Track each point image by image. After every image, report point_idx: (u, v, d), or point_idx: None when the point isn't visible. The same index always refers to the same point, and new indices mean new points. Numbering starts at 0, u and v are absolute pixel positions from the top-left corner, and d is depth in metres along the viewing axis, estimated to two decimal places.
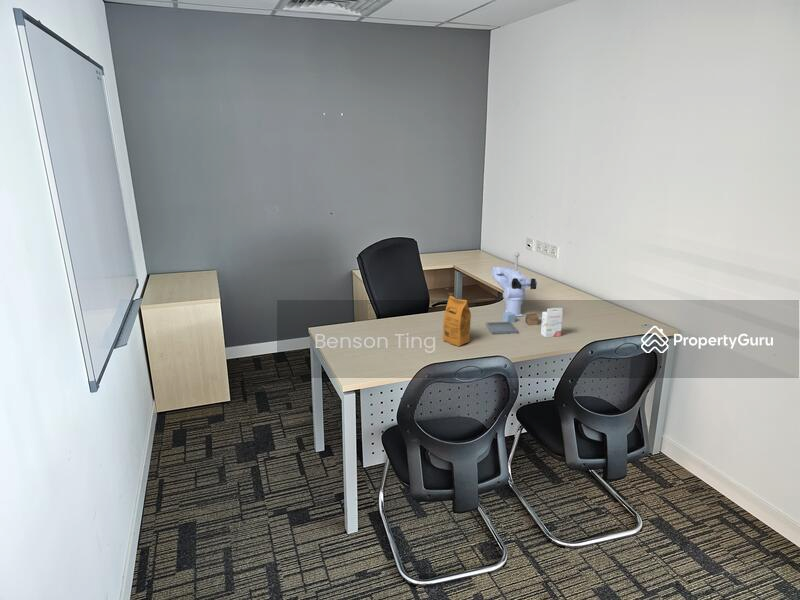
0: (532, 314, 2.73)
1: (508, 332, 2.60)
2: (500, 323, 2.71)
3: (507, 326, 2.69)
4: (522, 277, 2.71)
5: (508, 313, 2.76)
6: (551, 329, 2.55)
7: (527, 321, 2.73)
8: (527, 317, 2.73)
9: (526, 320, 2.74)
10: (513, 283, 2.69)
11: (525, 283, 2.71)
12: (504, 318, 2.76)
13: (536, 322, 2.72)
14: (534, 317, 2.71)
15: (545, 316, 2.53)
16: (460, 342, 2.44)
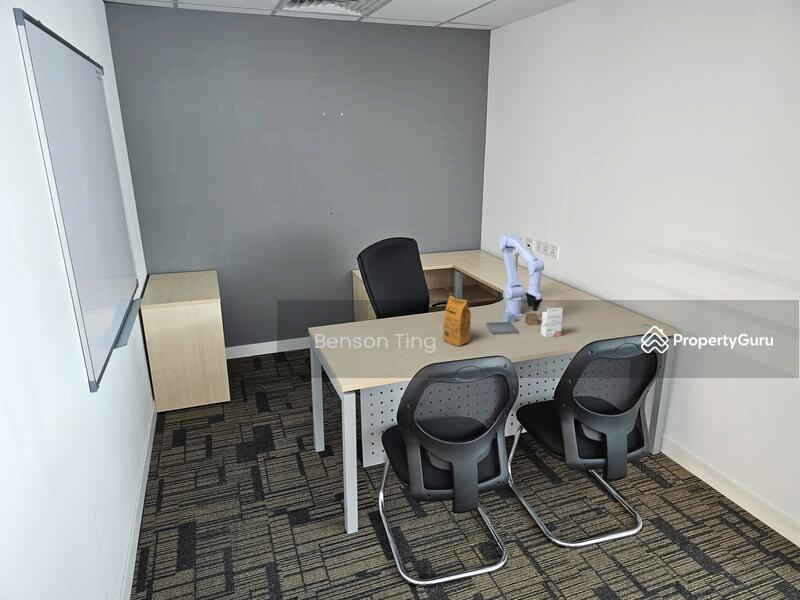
0: (532, 314, 2.73)
1: (508, 332, 2.60)
2: (500, 323, 2.71)
3: (507, 326, 2.69)
4: None
5: (508, 313, 2.76)
6: (551, 329, 2.55)
7: (527, 321, 2.73)
8: (527, 317, 2.73)
9: (526, 320, 2.74)
10: None
11: None
12: (504, 318, 2.76)
13: (536, 322, 2.72)
14: (534, 317, 2.71)
15: (545, 316, 2.53)
16: (460, 342, 2.44)
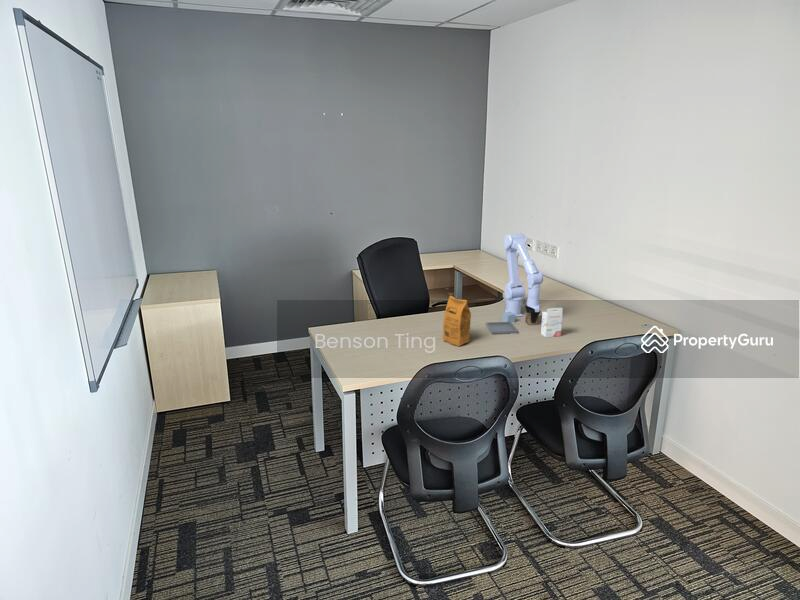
0: None
1: (508, 332, 2.60)
2: (500, 323, 2.71)
3: (507, 326, 2.69)
4: None
5: (508, 313, 2.76)
6: (551, 329, 2.55)
7: (527, 321, 2.73)
8: (527, 317, 2.73)
9: (526, 320, 2.74)
10: None
11: None
12: (504, 318, 2.76)
13: (536, 322, 2.72)
14: None
15: (545, 316, 2.53)
16: (460, 342, 2.44)
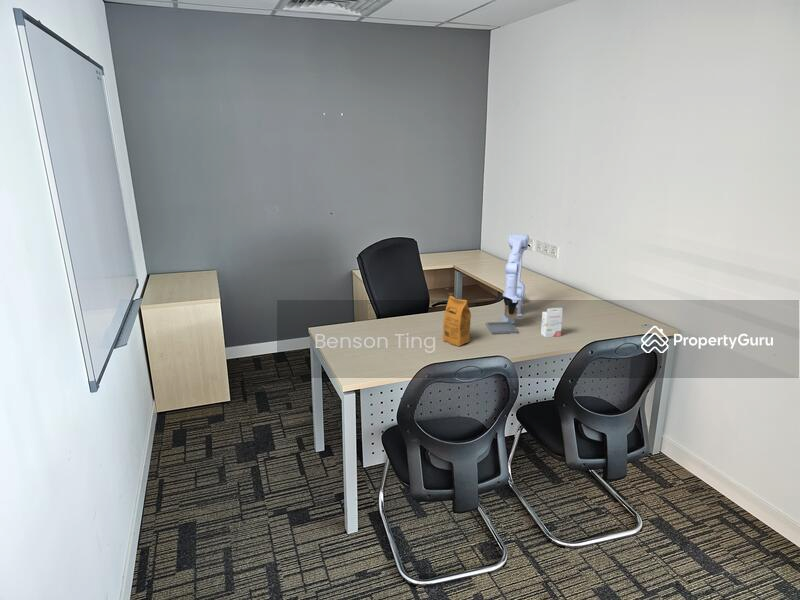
0: None
1: (508, 332, 2.60)
2: (500, 323, 2.71)
3: (507, 326, 2.69)
4: None
5: None
6: (551, 329, 2.55)
7: (506, 314, 2.65)
8: (506, 309, 2.65)
9: (505, 313, 2.66)
10: None
11: None
12: (504, 318, 2.76)
13: (515, 315, 2.63)
14: None
15: (545, 316, 2.53)
16: (460, 342, 2.44)
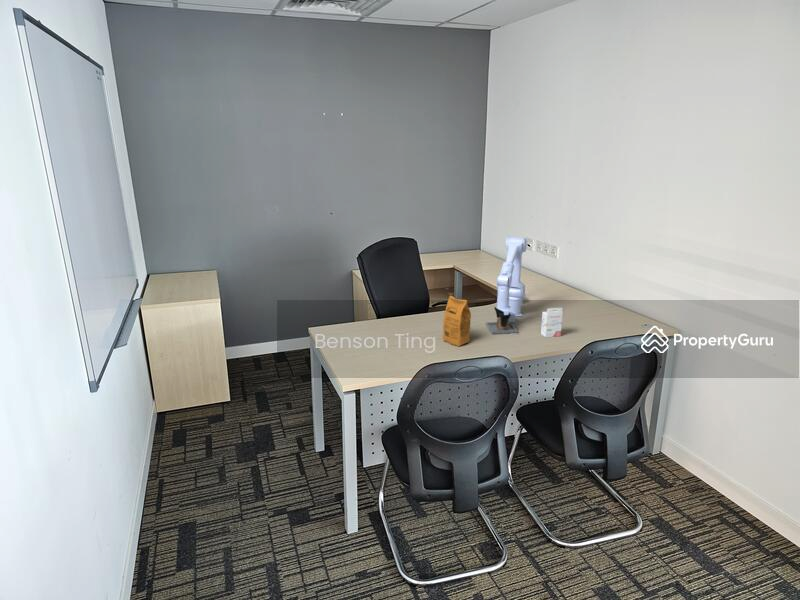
0: None
1: (508, 332, 2.60)
2: None
3: None
4: None
5: None
6: (551, 329, 2.55)
7: (498, 326, 2.65)
8: (498, 321, 2.65)
9: (497, 325, 2.66)
10: None
11: None
12: None
13: (507, 327, 2.63)
14: None
15: (545, 316, 2.53)
16: (460, 342, 2.44)
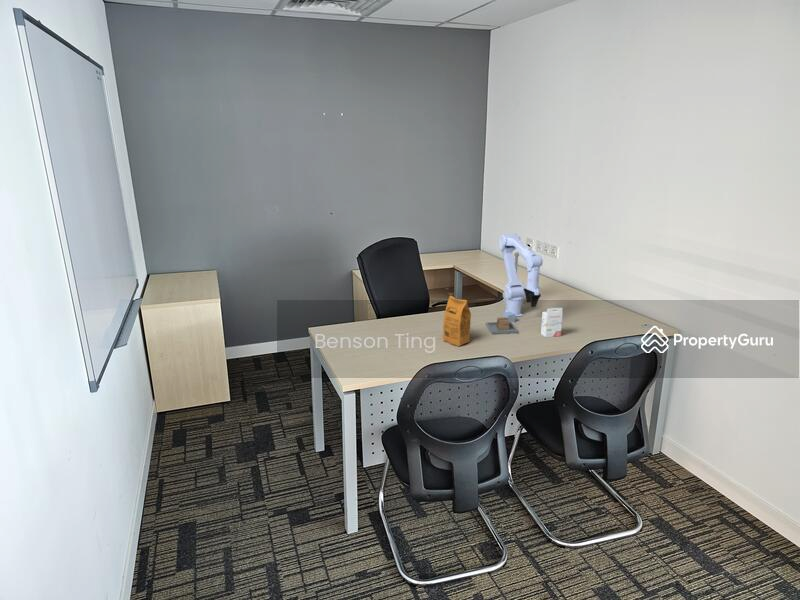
0: (503, 318, 2.65)
1: (508, 332, 2.60)
2: None
3: None
4: None
5: (508, 313, 2.76)
6: (551, 329, 2.55)
7: (498, 326, 2.65)
8: (498, 321, 2.65)
9: (497, 325, 2.66)
10: None
11: None
12: None
13: (507, 327, 2.63)
14: (505, 322, 2.62)
15: (545, 316, 2.53)
16: (460, 342, 2.44)
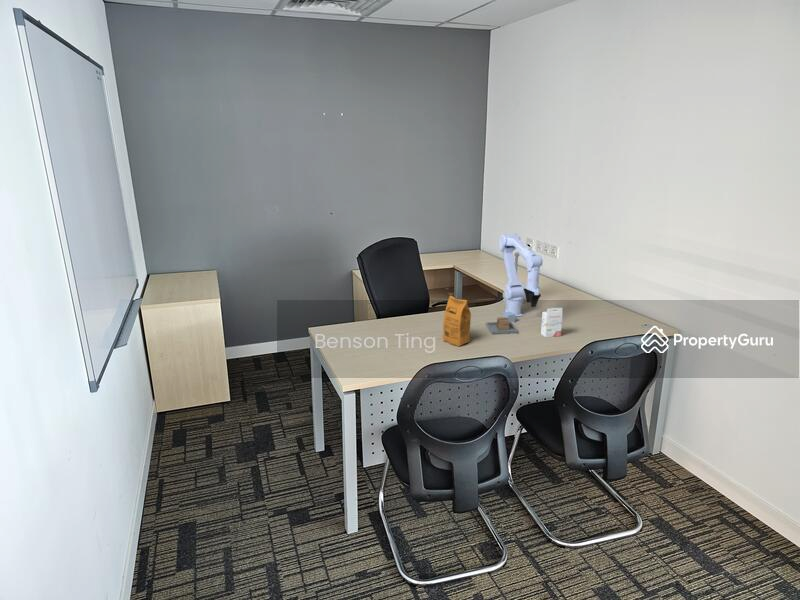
0: (503, 318, 2.65)
1: (508, 332, 2.60)
2: None
3: None
4: None
5: (508, 313, 2.76)
6: (551, 329, 2.55)
7: (498, 326, 2.65)
8: (498, 321, 2.65)
9: (497, 325, 2.66)
10: None
11: None
12: None
13: (507, 327, 2.63)
14: (505, 322, 2.62)
15: (545, 316, 2.53)
16: (460, 342, 2.44)
